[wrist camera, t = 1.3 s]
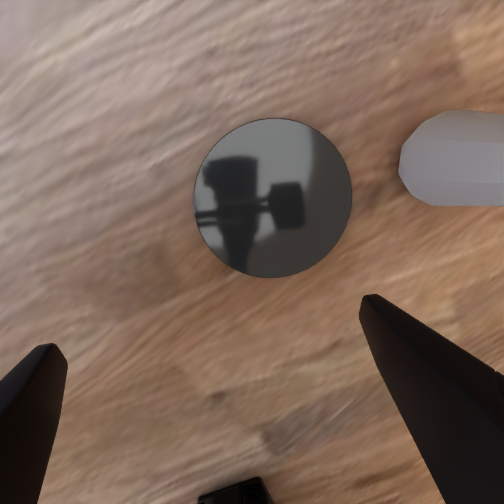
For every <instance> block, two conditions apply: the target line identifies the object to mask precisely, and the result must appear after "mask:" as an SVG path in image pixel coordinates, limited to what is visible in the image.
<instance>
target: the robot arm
mask: <svg viewBox="0 0 504 504" xmlns="http://www.w3.org/2000/svg"><path fill="white" fill-rule="evenodd" d="M359 320H360V323H361V326H362V328H363V331H364V334H365V336H366V339H367V342H368V344H369V347H370V350H371V352H372V355H373V358H374V360H375V363H376V365H377V368H378V370H379V372H380V374H381V376H382V378H383V380H384V382H385V384H386V386H387V388H388V390H389V392H390V394H391V396H392V398H393V400H394V402H395V404H396V406H397V408H398V410H399V412H400V414H401V416H402V418H403V420H404V422H405V423H406V425H407V427H408V429H409V431H410V433H411V435H412V437H413V439H414V441H415V443H416V445H417V447H418V449H419V451H420V453H421V455H422V457H423V459H424V461H425V463H426V465H427V467H428V469H429V471H430V473H431V475H432V477H433V479H434V481H435V483H436V485H437V487H438V489H439V491H440V493H441V495H442V497H443V499H444V501H445V503H446V504H504V375H502V374H501V373H499V372H497V371H496V372H495V370H494V369H493V368H491V367H490V366H488V365H487V364H485V363H484V362H482V361H480V360H479V359H477V358H476V357H474V356H473V355H471V354H470V353H468V352H467V351H465V350H463V349H462V348H460V347H459V346H457V345H456V344H454V343H453V342H451V341H450V340H448V339H446V338H445V337H443V336H442V335H440V334H439V333H437V332H436V331H434V330H432V329H431V328H429V327H428V326H426V325H425V324H423V323H422V322H420V321H419V320H417V319H415V318H414V317H412V316H411V315H409V314H408V313H406V312H405V311H403V310H402V309H400V308H398V307H397V306H395V305H394V304H392V303H391V302H389V301H388V300H386V299H385V298H383V297H381V296H380V295H378V294H371V295H365V296H364V297H363V298H362V302H361V306H360V311H359ZM67 369H68V364H67V360H66V358H65V357H64V355H63V354H62V352H61V351H60V349H59V348H58V346H57V345H56V344H54V343H49V344H43V345H39V346H37V347H35V348H34V349H33V350H32V351H31V352H30V353H29V354H28V355H27V356H26V357H25V358H24V359H23V360H21V361H20V362H19V363H18V364H17V365H16V366H15V367H14V368H13V369H12V370H11V371H10V372H9V373H8V374H7V375H6V376H5V377H4V378H3V379H2V380H0V504H37V502H38V499H39V495H40V491H41V487H42V484H43V480H44V476H45V473H46V469H47V465H48V462H49V458H50V454H51V451H52V447H53V443H54V440H55V436H56V432H57V428H58V424H59V419H60V414H61V408H62V401H63V395H64V389H65V382H66V376H67ZM197 504H274V503H273V501H272V499H271V497H270V495H269V493H268V491H267V489H266V487H265V485H264V483H263V481H262V479H261V478H258V477H256V478H253V479H250V480H247V481H244V482H241V483H238V484H235V485H232V486H229V487H226V488H223V489H221V490H218V491H215V492H212V493H209V494H206V495H203V496H200V497H199V498H198V503H197Z"/></svg>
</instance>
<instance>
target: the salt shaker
mask: <svg viewBox="0 0 504 504" xmlns="http://www.w3.org/2000/svg"><path fill="white" fill-rule="evenodd" d="M398 174H399V176H400V178H401V180H402V181H403V183H404V184H405V186H406V188H407V189H408V191H409V192H410V194H411V195H412V196H414V197H415V198H417V199H419V200H421V201H423V202H425V203H426V204H428V205H430V206H504V114H497V113H489V112H480V111H472V110H450V109H448V110H446V111H444V112H442V113H440V114H438V115H436V116H434V117H432V118H430V119H428V120H426V121H424V122H422V124H421V125H420V126H419V127H418V128H417V129H416V130H415V131H414V132H413V133H412V135H411V136H410V137H409V138H408V139H407V140H406V141H405V143H404V144H403V145H402V147H401V155H400V162H399V169H398Z"/></svg>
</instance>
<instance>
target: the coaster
mask: <svg viewBox="0 0 504 504" xmlns="http://www.w3.org/2000/svg"><path fill="white" fill-rule="evenodd" d="M193 204H194V214H195V218H196V223H197V226H198V228H199V231H200V233H201V235H202V237H203V239H204V241H205V243H206V244H207V245H208V247H209V248H210V250H211V251H212V252H213V253H214V254H215V255H216V256H217V257H218V258H219V259H220V260H221V261H223V262H224V263H225V264H227V265H228V266H230V267H231V268H233V269H235V270H237V271H239V272H241V273H244V274H247V275H251V276H255V277H261V278H280V277H285V276H290V275H293V274H297V273H299V272H302V271H304V270H306V269H308V268H310V267H312V266H313V265H315V264H316V263H318V262H319V261H320V260H322V259H323V258H324V257H325V256H326V255H327V254H328V253H329V252H330V251H331V250H332V249H333V247H334V246H335V245H336V244H337V242H338V241H339V239H340V237H341V236H342V234H343V232H344V230H345V227H346V225H347V222H348V219H349V216H350V211H351V205H352V187H351V181H350V176H349V172H348V170H347V167H346V164H345V162H344V160H343V158H342V156H341V154H340V153H339V152H338V150H337V149H336V147H335V146H334V145H333V144H332V143H331V142H330V141H329V139H328V138H326V137H325V136H324V135H323V134H321V133H320V132H319V131H317V130H315V129H314V128H312V127H311V126H308V125H306V124H304V123H301V122H298V121H294V120H290V119H283V118H266V119H260V120H255V121H252V122H249V123H246V124H244V125H241V126H239V127H237V128H235V129H234V130H232V131H231V132H229V133H228V134H226V135H225V136H224V137H223V138H222V139H220V140H219V141H218V142H217V143H216V144H215V145H214V147H213V148H212V149H211V150H210V151H209V153H208V155H207V156H206V158H205V159H204V161H203V163H202V165H201V167H200V169H199V172H198V175H197V178H196V182H195V187H194V198H193Z"/></svg>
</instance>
